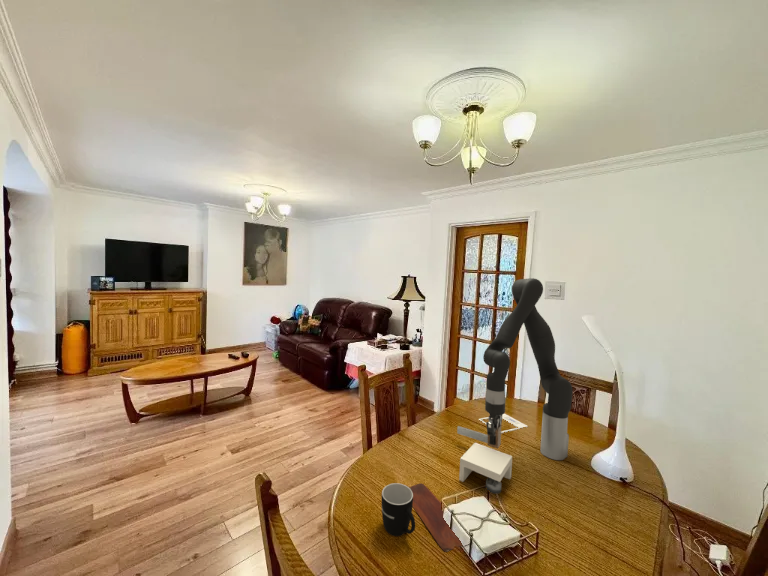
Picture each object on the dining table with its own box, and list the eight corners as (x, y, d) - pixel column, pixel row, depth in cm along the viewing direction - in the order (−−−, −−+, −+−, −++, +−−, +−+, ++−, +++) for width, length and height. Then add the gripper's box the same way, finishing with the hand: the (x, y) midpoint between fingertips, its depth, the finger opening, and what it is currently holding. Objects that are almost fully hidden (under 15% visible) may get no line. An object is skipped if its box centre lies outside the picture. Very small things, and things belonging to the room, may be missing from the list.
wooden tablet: (474, 544, 86) (475, 539, 86) (443, 556, 82) (444, 550, 82) (425, 483, 111) (425, 479, 111) (399, 490, 107) (399, 485, 107)
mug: (374, 523, 91) (375, 490, 91) (398, 511, 97) (399, 479, 96) (400, 554, 82) (401, 517, 81) (425, 538, 87) (427, 503, 86)
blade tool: (500, 444, 127) (501, 424, 127) (497, 448, 124) (498, 428, 123) (459, 431, 137) (459, 413, 137) (455, 434, 134) (456, 416, 134)
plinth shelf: (511, 477, 115) (512, 456, 115) (498, 498, 104) (500, 474, 104) (474, 462, 124) (475, 442, 123) (459, 480, 112) (460, 458, 112)
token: (495, 483, 112) (495, 476, 112) (504, 493, 107) (504, 486, 107) (482, 485, 110) (483, 478, 110) (491, 494, 106) (491, 487, 105)
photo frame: (527, 425, 155) (500, 432, 147) (527, 427, 155) (500, 434, 147) (504, 413, 168) (478, 418, 161) (504, 415, 168) (478, 420, 161)
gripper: (491, 392, 134) (490, 432, 134) (479, 403, 122) (478, 446, 123) (509, 396, 129) (508, 437, 130) (499, 408, 118) (498, 453, 119)
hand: (494, 441), depth 127 cm, fingers closed on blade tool, 4 cm apart
